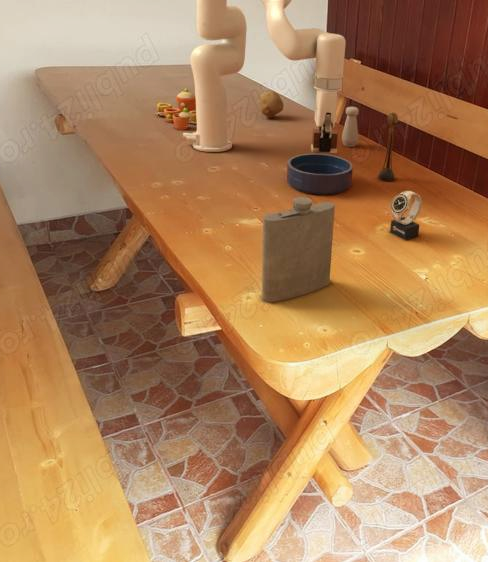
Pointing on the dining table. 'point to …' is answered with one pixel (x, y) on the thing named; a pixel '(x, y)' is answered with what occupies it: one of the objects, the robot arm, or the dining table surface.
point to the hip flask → (297, 250)
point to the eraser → (316, 140)
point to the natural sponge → (270, 104)
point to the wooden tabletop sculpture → (389, 151)
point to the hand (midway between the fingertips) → (323, 148)
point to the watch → (401, 224)
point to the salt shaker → (350, 128)
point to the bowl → (319, 173)
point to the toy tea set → (180, 110)
